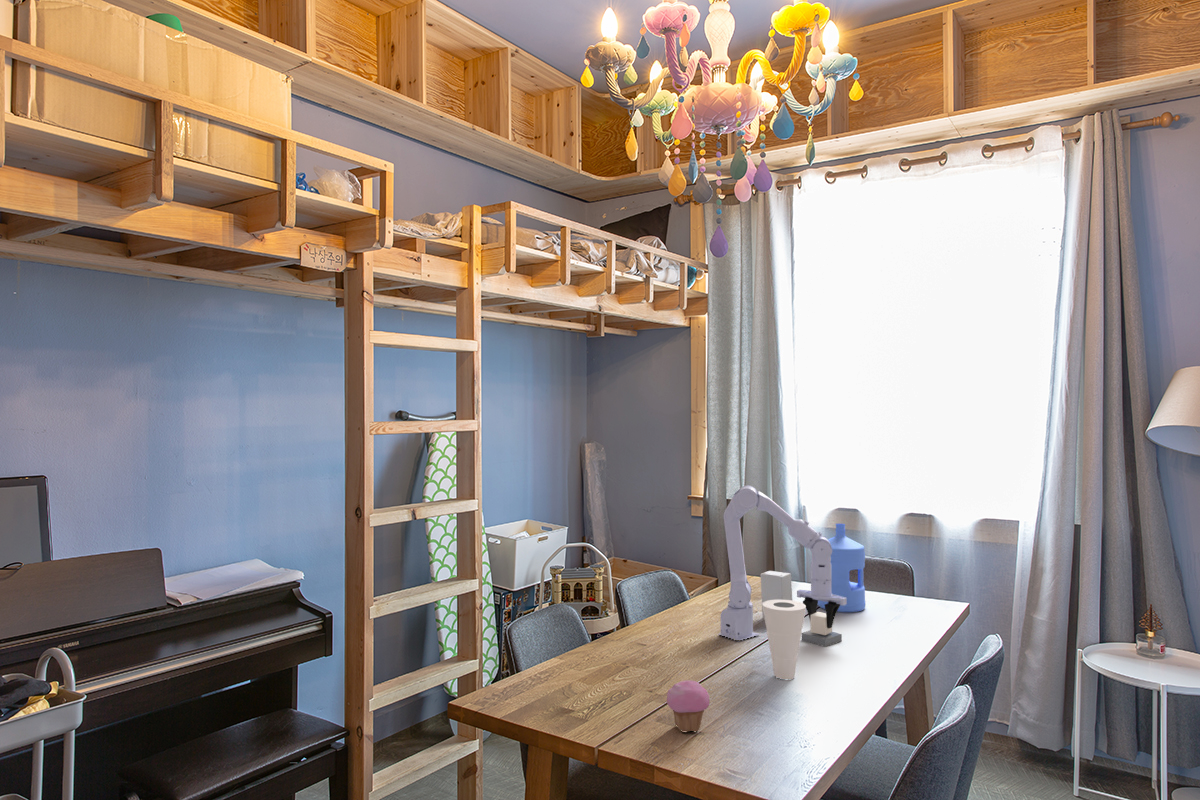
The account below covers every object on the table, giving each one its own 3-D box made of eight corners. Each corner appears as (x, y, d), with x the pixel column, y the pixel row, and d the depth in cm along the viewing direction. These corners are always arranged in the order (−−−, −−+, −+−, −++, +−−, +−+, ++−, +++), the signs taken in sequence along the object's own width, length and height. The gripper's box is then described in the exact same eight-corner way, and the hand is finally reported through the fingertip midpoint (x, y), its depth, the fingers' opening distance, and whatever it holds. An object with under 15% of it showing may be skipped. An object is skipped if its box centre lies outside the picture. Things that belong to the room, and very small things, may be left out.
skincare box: (793, 620, 239) (793, 573, 239) (783, 624, 235) (782, 576, 235) (771, 615, 245) (770, 569, 245) (760, 618, 241) (760, 572, 241)
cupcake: (705, 721, 162) (705, 674, 162) (712, 738, 153) (712, 689, 153) (664, 721, 161) (664, 675, 162) (669, 739, 153) (669, 690, 153)
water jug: (816, 611, 249) (816, 526, 250) (817, 599, 264) (816, 520, 265) (866, 614, 245) (865, 528, 245) (864, 602, 260) (863, 521, 260)
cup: (775, 686, 182) (775, 612, 182) (755, 671, 192) (754, 601, 192) (814, 682, 184) (814, 608, 185) (792, 667, 195) (792, 598, 195)
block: (825, 635, 215) (825, 617, 215) (810, 632, 218) (810, 614, 218) (832, 631, 218) (832, 614, 218) (817, 628, 221) (817, 611, 221)
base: (825, 646, 212) (825, 639, 212) (801, 639, 218) (801, 632, 218) (841, 641, 217) (841, 634, 217) (818, 634, 223) (818, 627, 223)
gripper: (791, 577, 220) (791, 623, 220) (838, 585, 210) (839, 633, 210) (803, 573, 225) (803, 619, 225) (849, 580, 215) (850, 628, 215)
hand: (821, 625), depth 218 cm, fingers closed on block, 4 cm apart
